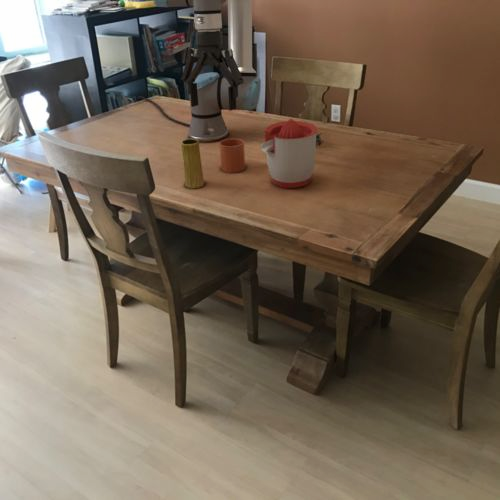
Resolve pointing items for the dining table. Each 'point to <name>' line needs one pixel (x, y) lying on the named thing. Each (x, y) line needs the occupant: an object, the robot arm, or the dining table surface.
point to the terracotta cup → (232, 155)
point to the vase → (192, 163)
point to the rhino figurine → (318, 139)
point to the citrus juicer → (290, 152)
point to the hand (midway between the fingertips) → (213, 107)
